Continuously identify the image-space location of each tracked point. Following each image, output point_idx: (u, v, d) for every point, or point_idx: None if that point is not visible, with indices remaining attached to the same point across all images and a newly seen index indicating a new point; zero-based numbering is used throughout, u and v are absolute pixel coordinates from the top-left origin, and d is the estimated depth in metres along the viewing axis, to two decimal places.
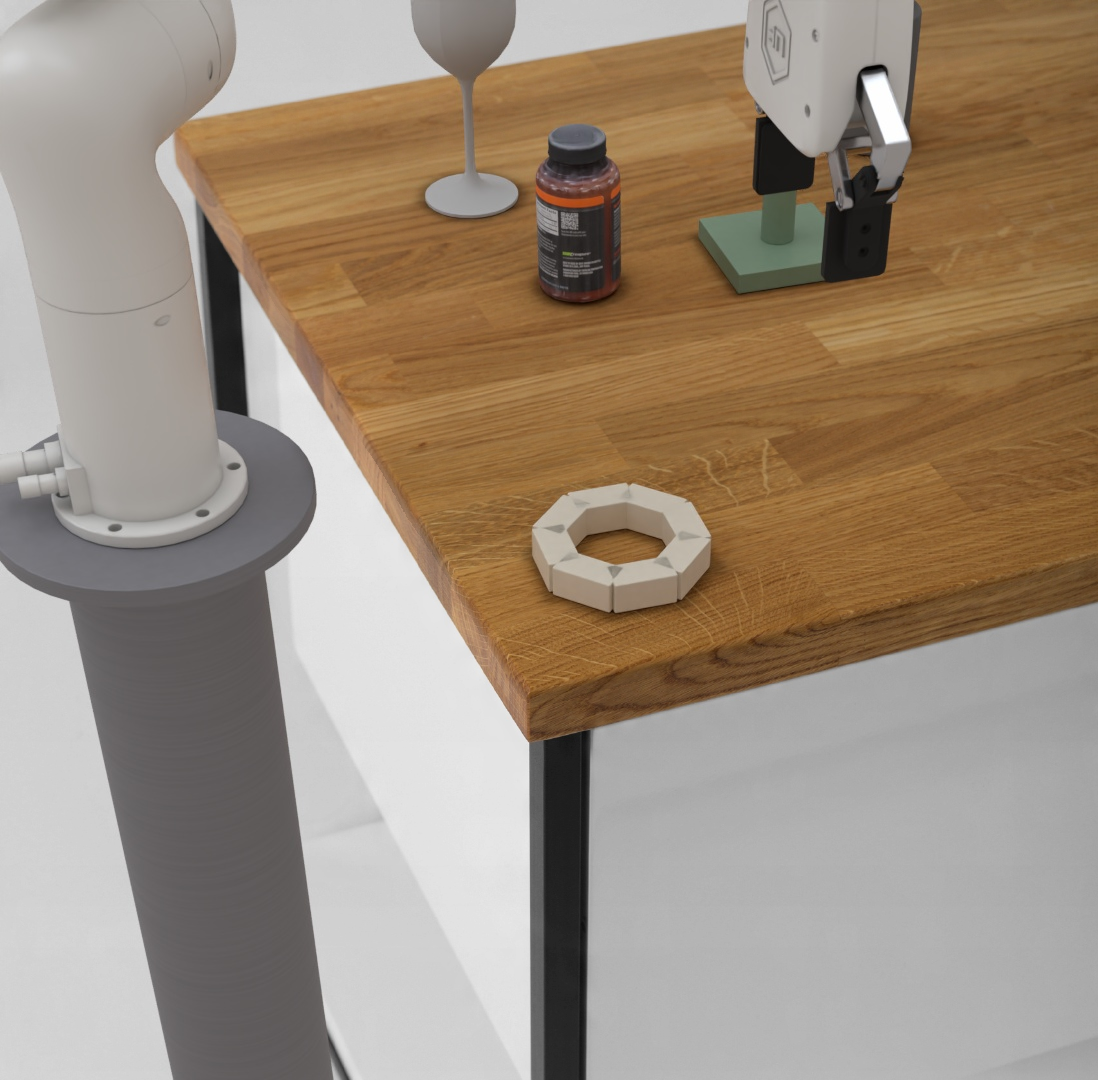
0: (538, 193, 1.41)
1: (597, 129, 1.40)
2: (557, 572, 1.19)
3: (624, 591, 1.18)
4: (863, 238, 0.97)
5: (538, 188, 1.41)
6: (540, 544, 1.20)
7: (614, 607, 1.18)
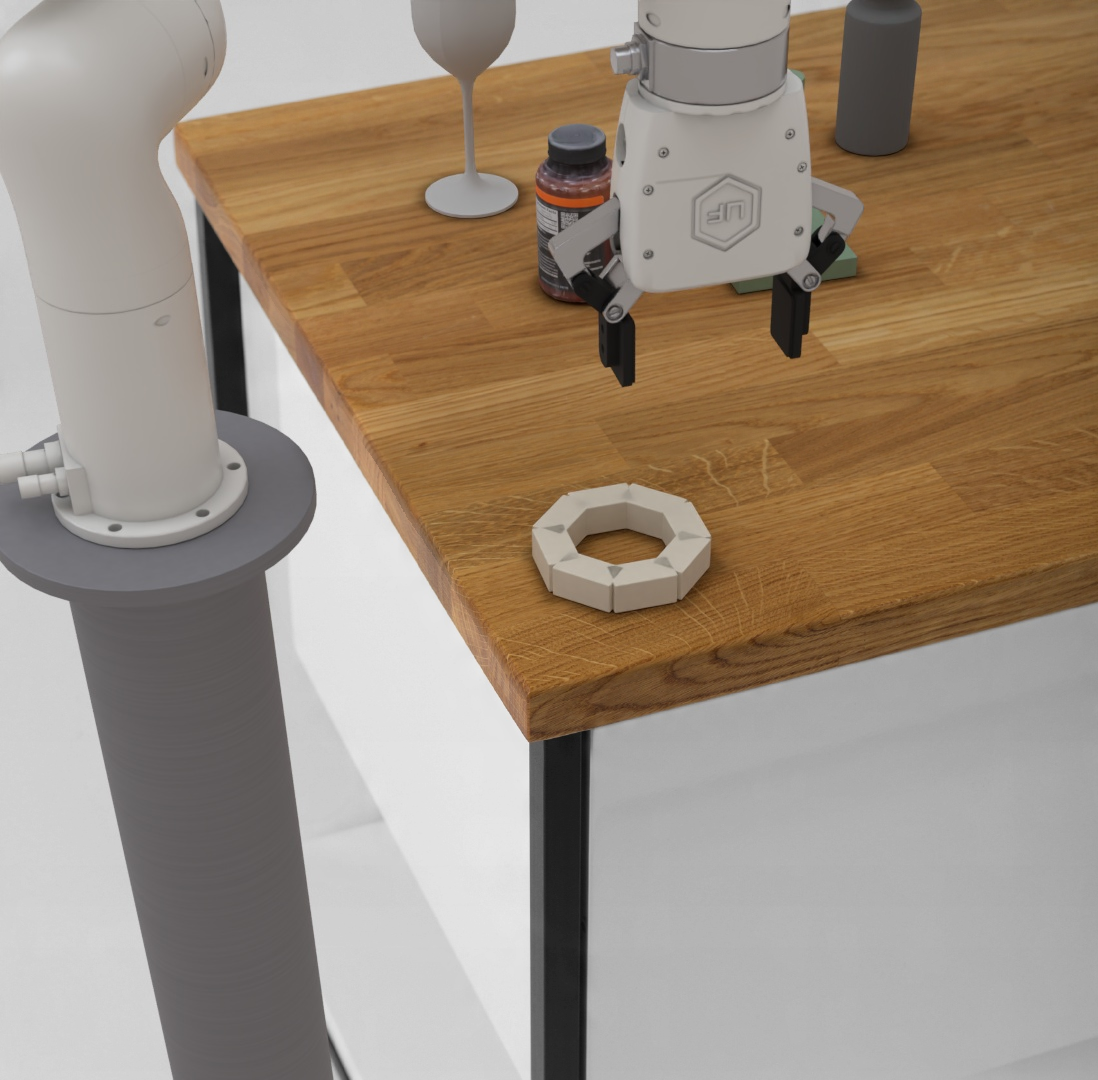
0: (538, 193, 1.41)
1: (597, 129, 1.40)
2: (557, 572, 1.19)
3: (624, 591, 1.18)
4: None
5: (538, 188, 1.41)
6: (540, 544, 1.20)
7: (614, 607, 1.18)
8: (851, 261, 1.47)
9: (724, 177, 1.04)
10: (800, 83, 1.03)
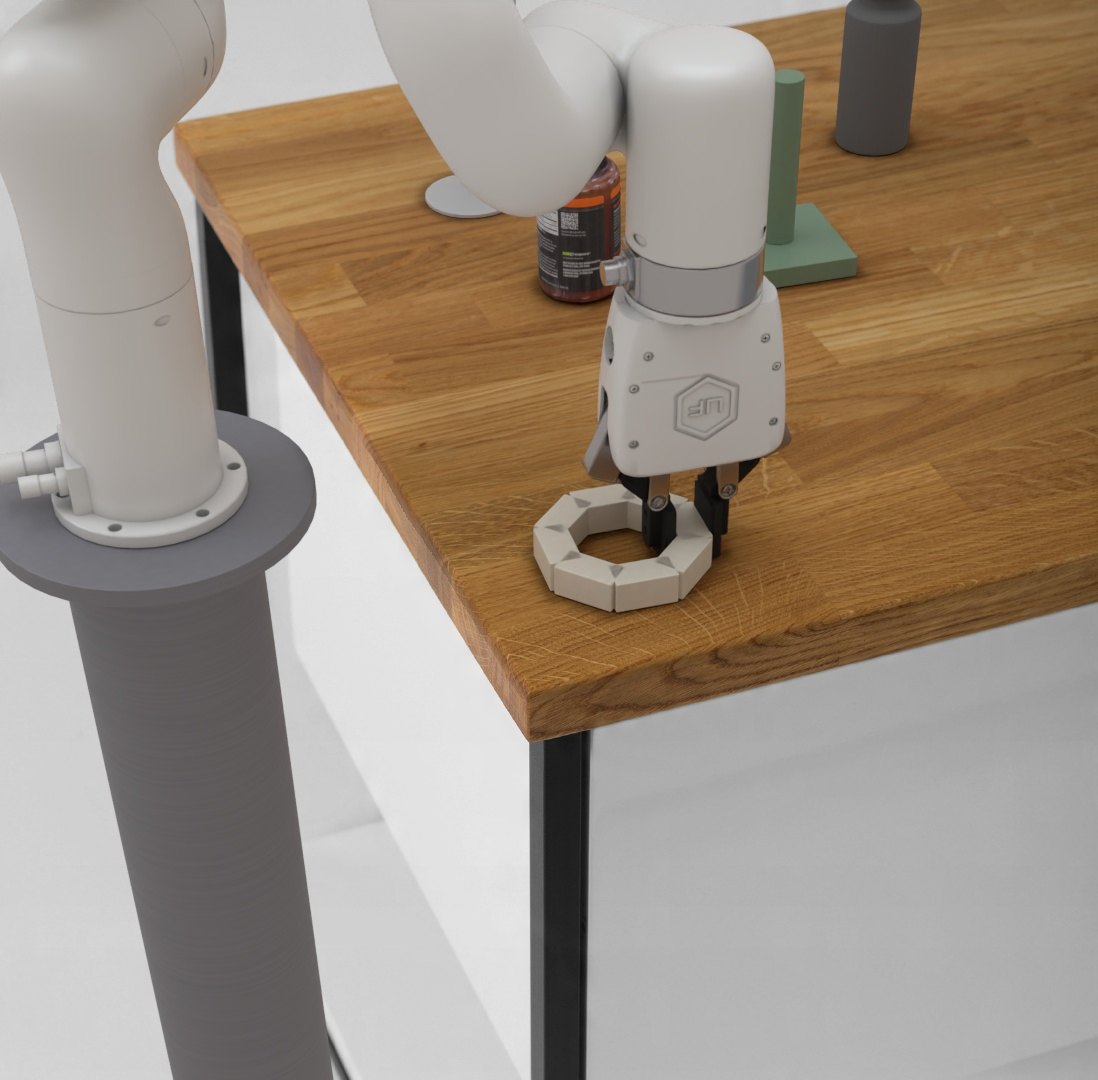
0: None
1: None
2: (558, 571, 1.19)
3: (625, 590, 1.18)
4: None
5: None
6: (541, 543, 1.20)
7: (615, 606, 1.18)
8: (851, 261, 1.47)
9: (704, 377, 1.12)
10: (775, 291, 1.11)
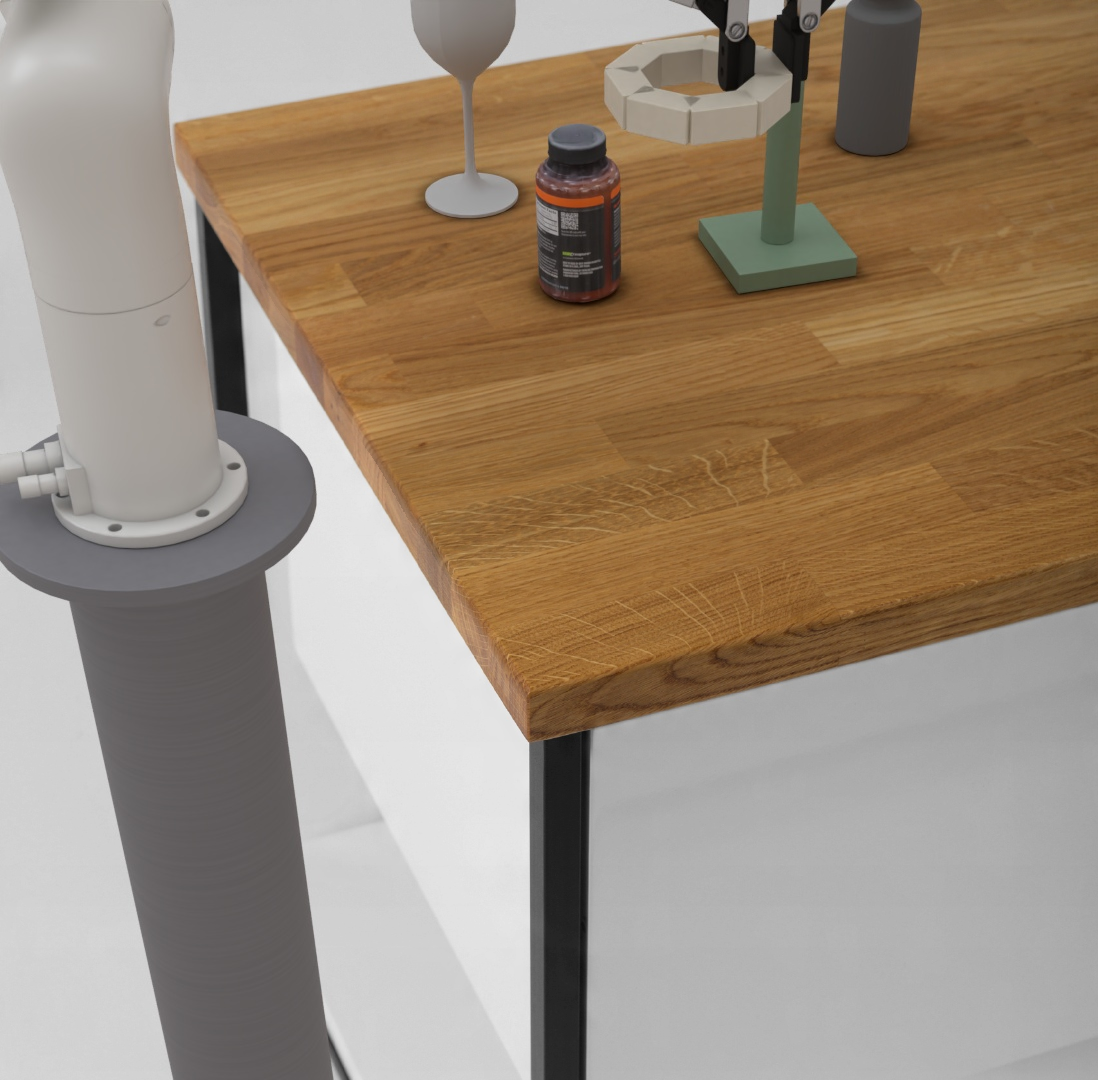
0: (538, 193, 1.41)
1: (597, 129, 1.40)
2: (631, 103, 1.13)
3: (701, 118, 1.12)
4: None
5: (538, 188, 1.41)
6: (613, 80, 1.15)
7: (691, 139, 1.13)
8: (851, 261, 1.47)
9: None
10: None
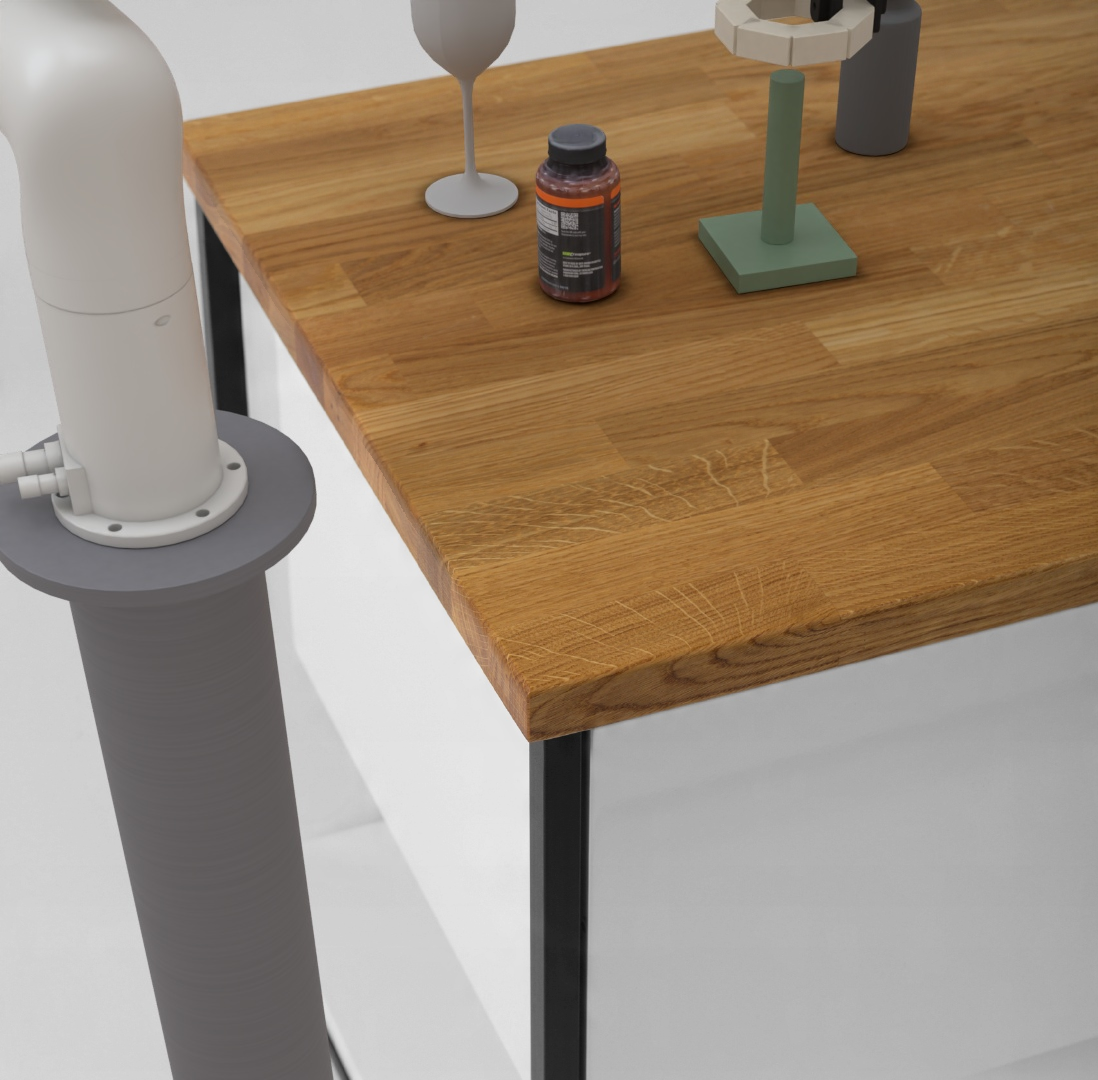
0: (538, 193, 1.41)
1: (597, 129, 1.40)
2: (741, 31, 1.35)
3: (801, 43, 1.34)
4: None
5: (538, 188, 1.41)
6: (724, 13, 1.37)
7: (792, 61, 1.35)
8: (851, 261, 1.47)
9: None
10: None
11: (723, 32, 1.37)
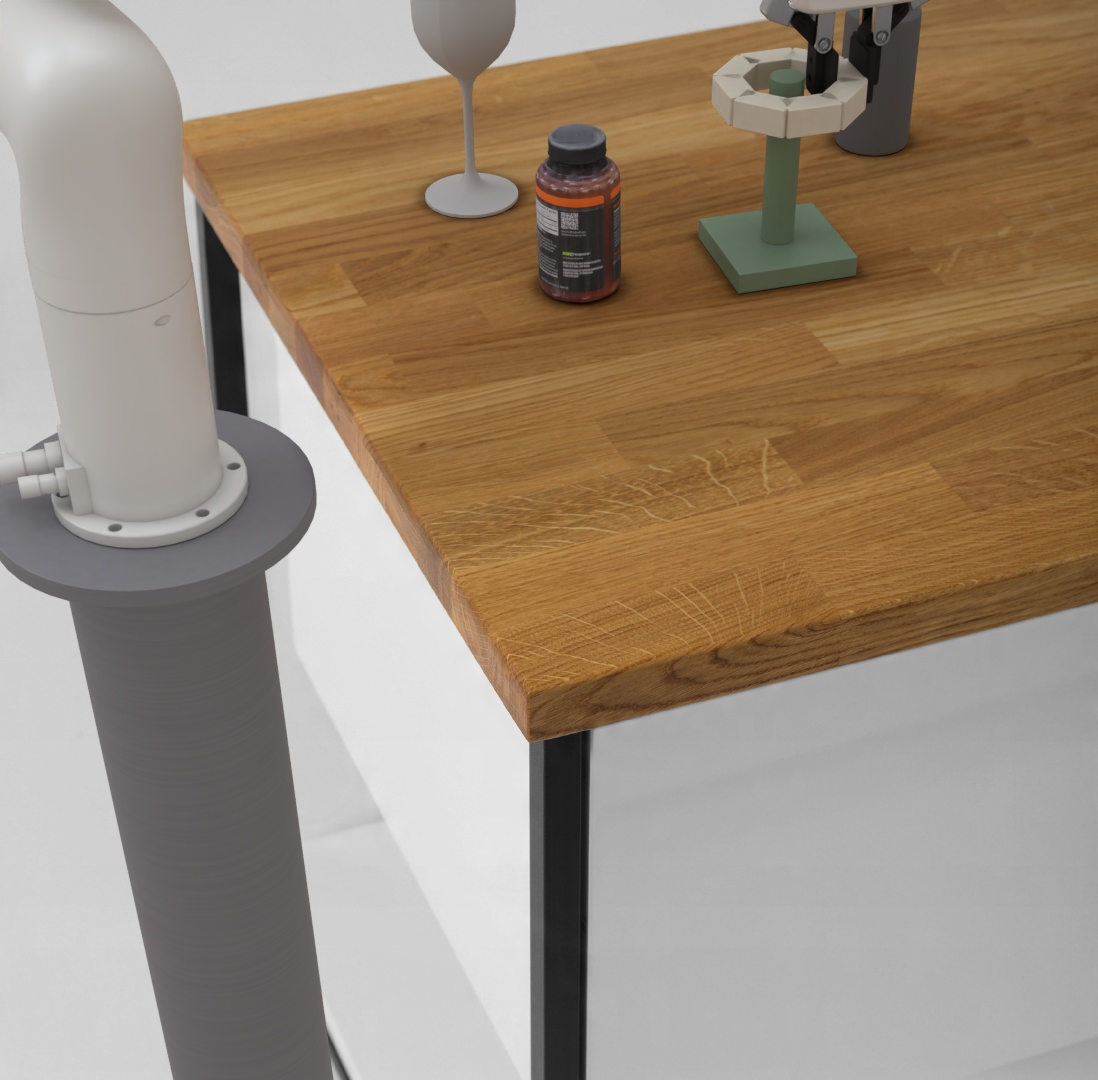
0: (538, 193, 1.41)
1: (597, 129, 1.40)
2: (738, 104, 1.38)
3: (796, 116, 1.37)
4: None
5: (538, 188, 1.41)
6: (721, 85, 1.40)
7: (787, 133, 1.38)
8: (851, 261, 1.47)
9: None
10: None
11: (720, 103, 1.41)
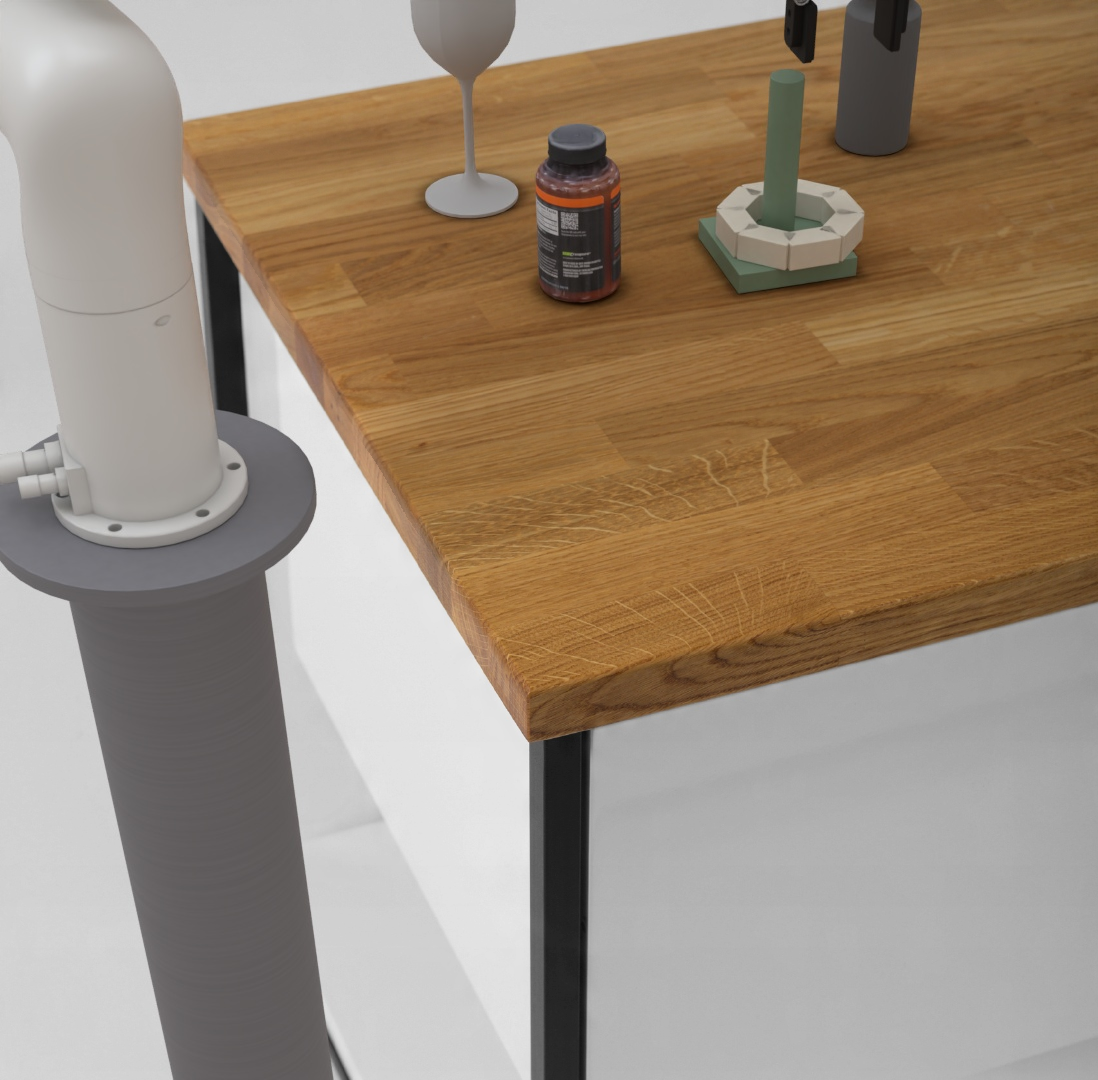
0: (538, 193, 1.41)
1: (597, 129, 1.40)
2: (742, 238, 1.45)
3: (798, 250, 1.44)
4: None
5: (538, 188, 1.41)
6: (725, 219, 1.47)
7: (789, 265, 1.45)
8: (851, 261, 1.47)
9: None
10: None
11: (724, 235, 1.47)
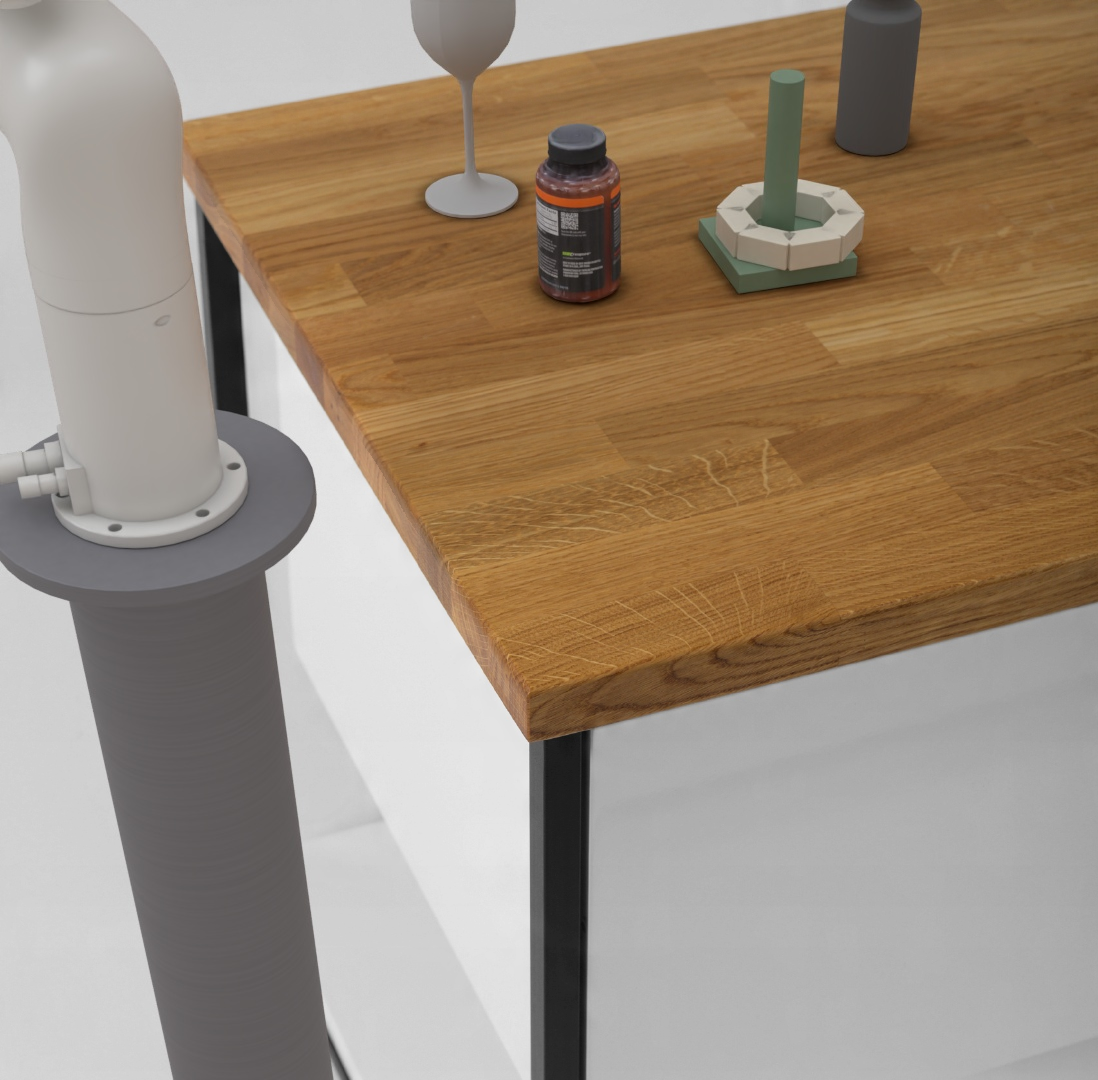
0: (538, 193, 1.41)
1: (597, 129, 1.40)
2: (742, 238, 1.45)
3: (798, 250, 1.44)
4: None
5: (538, 188, 1.41)
6: (725, 219, 1.47)
7: (789, 265, 1.45)
8: (851, 261, 1.47)
9: None
10: None
11: (724, 235, 1.47)
